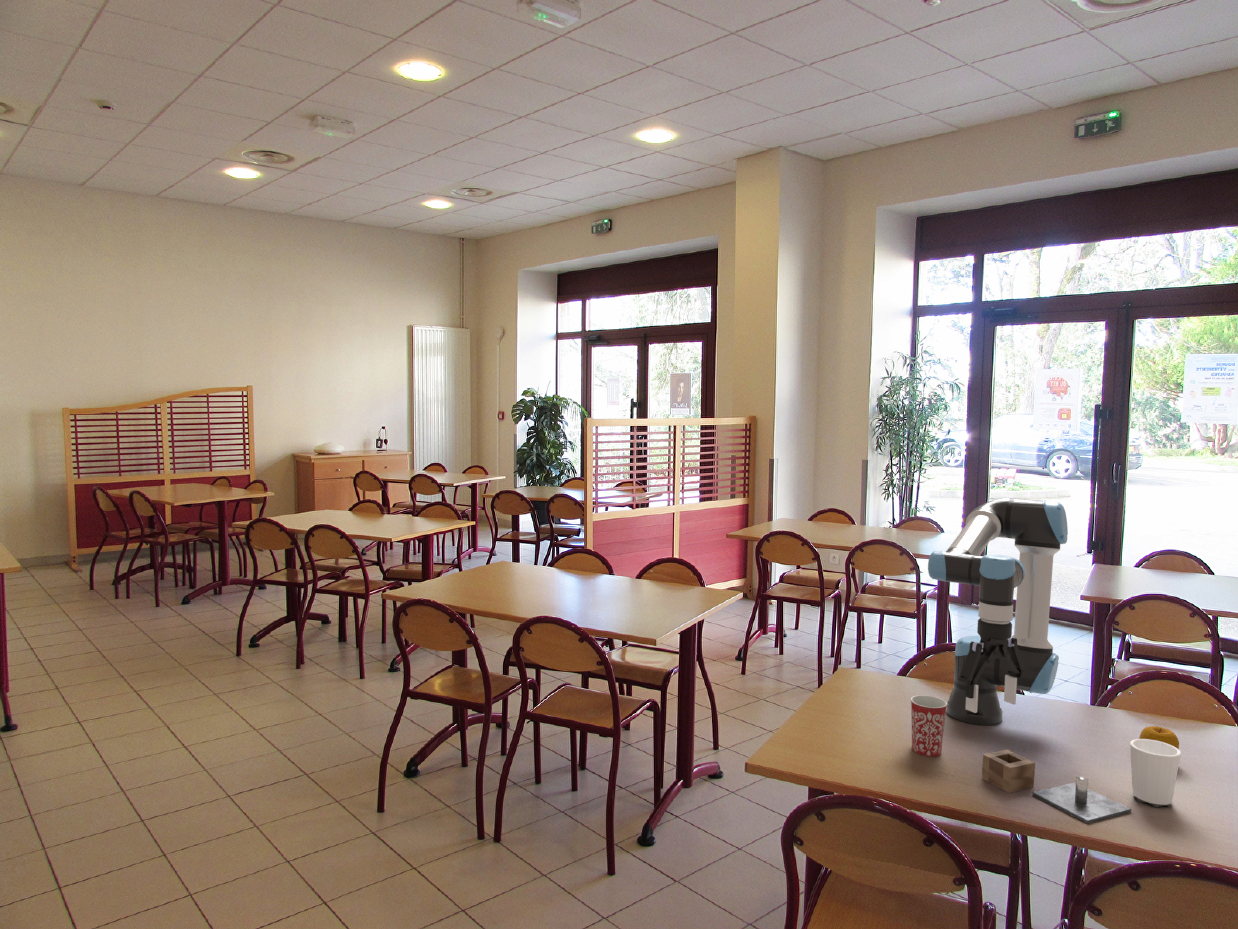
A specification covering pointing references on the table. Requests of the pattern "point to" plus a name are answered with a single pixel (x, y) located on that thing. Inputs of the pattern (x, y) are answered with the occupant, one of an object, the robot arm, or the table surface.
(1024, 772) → the collar
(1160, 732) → the apple
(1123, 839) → the table surface
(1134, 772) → the cup
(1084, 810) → the peg base
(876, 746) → the table surface
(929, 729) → the mug
